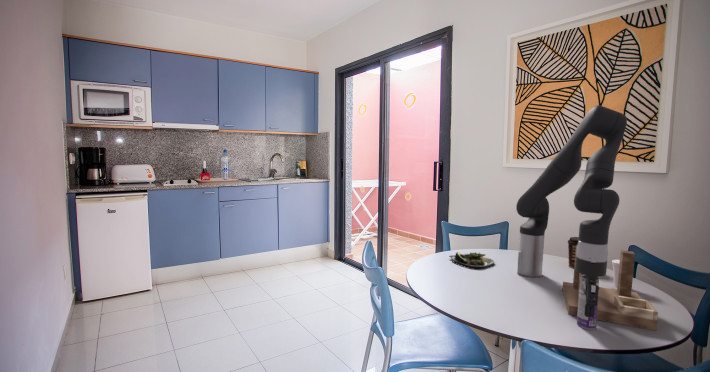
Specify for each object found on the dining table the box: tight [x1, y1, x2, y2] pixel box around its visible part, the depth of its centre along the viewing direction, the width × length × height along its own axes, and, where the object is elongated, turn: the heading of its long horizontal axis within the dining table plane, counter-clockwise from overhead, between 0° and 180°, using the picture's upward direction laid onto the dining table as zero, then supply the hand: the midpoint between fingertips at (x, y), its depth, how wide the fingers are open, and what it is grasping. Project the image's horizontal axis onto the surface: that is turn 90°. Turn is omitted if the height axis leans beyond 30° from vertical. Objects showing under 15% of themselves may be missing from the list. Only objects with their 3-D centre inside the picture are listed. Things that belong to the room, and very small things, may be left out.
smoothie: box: [611, 259, 620, 288], centre depth 133 cm, size 6×6×14 cm
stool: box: [561, 245, 659, 332], centre depth 115 cm, size 22×22×18 cm
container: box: [576, 275, 600, 331], centre depth 103 cm, size 5×5×15 cm
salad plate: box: [448, 251, 495, 270], centre depth 162 cm, size 19×18×5 cm
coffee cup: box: [567, 236, 579, 269], centre depth 154 cm, size 9×8×13 cm
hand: (587, 311), depth 103 cm, fingers open, 6 cm apart
